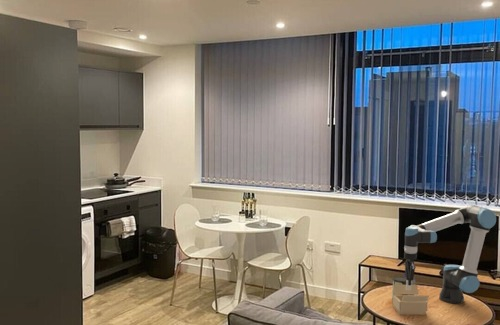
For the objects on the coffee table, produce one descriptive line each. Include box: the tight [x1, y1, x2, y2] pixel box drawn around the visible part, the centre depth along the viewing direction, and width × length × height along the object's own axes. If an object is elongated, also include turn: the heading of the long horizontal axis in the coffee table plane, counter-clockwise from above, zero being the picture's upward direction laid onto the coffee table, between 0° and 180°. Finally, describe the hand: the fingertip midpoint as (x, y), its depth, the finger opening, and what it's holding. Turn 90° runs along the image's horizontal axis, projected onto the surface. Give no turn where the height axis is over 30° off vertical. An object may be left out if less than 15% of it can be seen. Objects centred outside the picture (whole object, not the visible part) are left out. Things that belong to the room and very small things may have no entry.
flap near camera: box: [402, 294, 430, 303], centre depth 298 cm, size 15×6×1 cm
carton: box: [392, 295, 428, 316], centre depth 307 cm, size 17×12×8 cm
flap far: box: [392, 284, 420, 295], centre depth 314 cm, size 15×6×1 cm
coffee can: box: [391, 276, 408, 301], centre depth 326 cm, size 10×10×14 cm
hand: (408, 289), depth 309 cm, fingers closed
